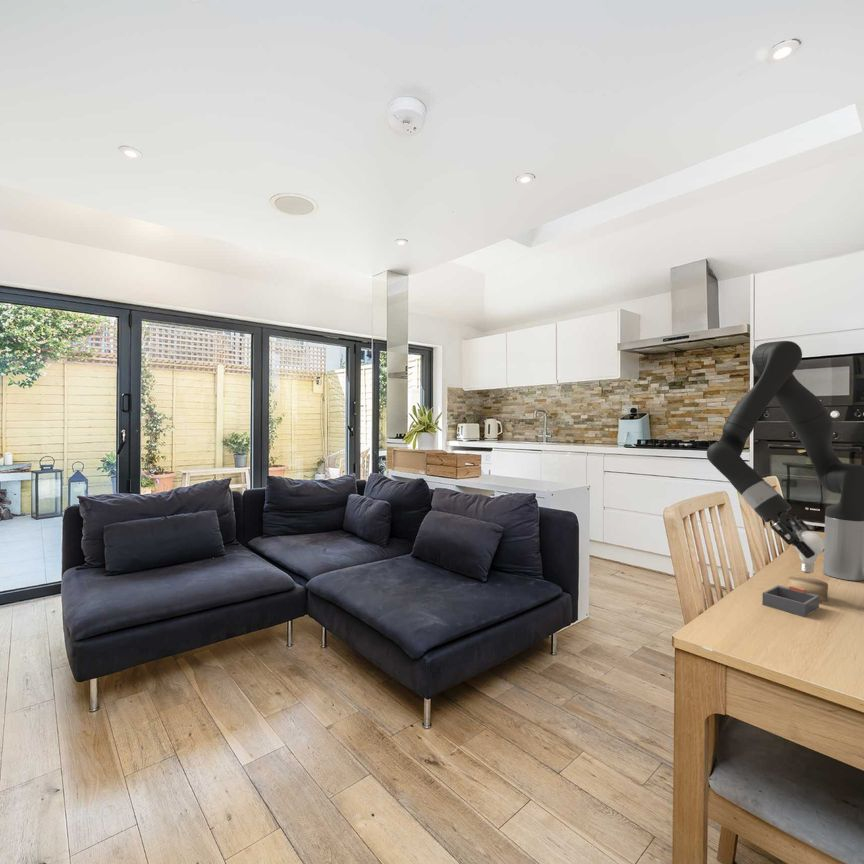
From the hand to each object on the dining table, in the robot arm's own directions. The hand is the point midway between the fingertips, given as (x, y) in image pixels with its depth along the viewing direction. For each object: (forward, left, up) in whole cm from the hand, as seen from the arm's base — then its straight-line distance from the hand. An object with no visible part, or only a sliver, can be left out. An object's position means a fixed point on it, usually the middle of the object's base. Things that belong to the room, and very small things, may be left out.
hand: (816, 554), depth 121 cm
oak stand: (0, -2, -11) cm, 12 cm away
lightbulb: (0, -2, -6) cm, 6 cm away
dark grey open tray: (+12, -1, -11) cm, 17 cm away
